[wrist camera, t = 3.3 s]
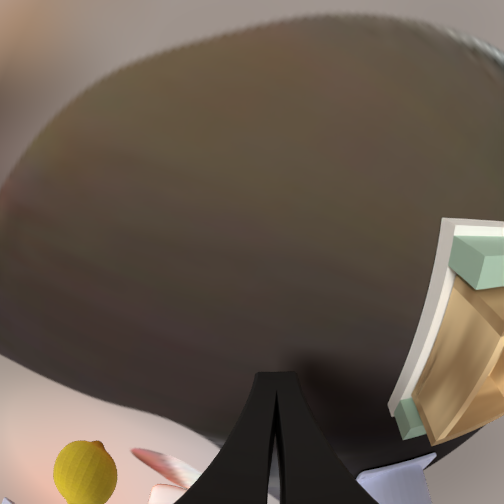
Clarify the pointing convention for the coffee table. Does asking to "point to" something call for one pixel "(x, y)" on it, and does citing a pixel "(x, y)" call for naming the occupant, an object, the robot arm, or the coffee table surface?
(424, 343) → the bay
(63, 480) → the lemon
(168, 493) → the drinking glass
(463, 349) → the crate
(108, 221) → the coffee table surface
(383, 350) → the coffee table surface
